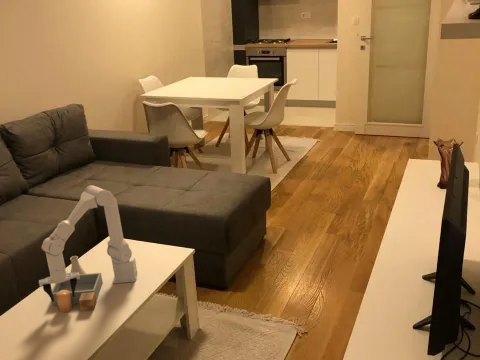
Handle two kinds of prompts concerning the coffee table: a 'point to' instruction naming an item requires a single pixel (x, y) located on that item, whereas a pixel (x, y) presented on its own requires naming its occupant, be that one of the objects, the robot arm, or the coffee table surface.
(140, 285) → the coffee table surface
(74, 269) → the flask
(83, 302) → the walnut cube
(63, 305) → the terracotta cylinder
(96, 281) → the slate tote
